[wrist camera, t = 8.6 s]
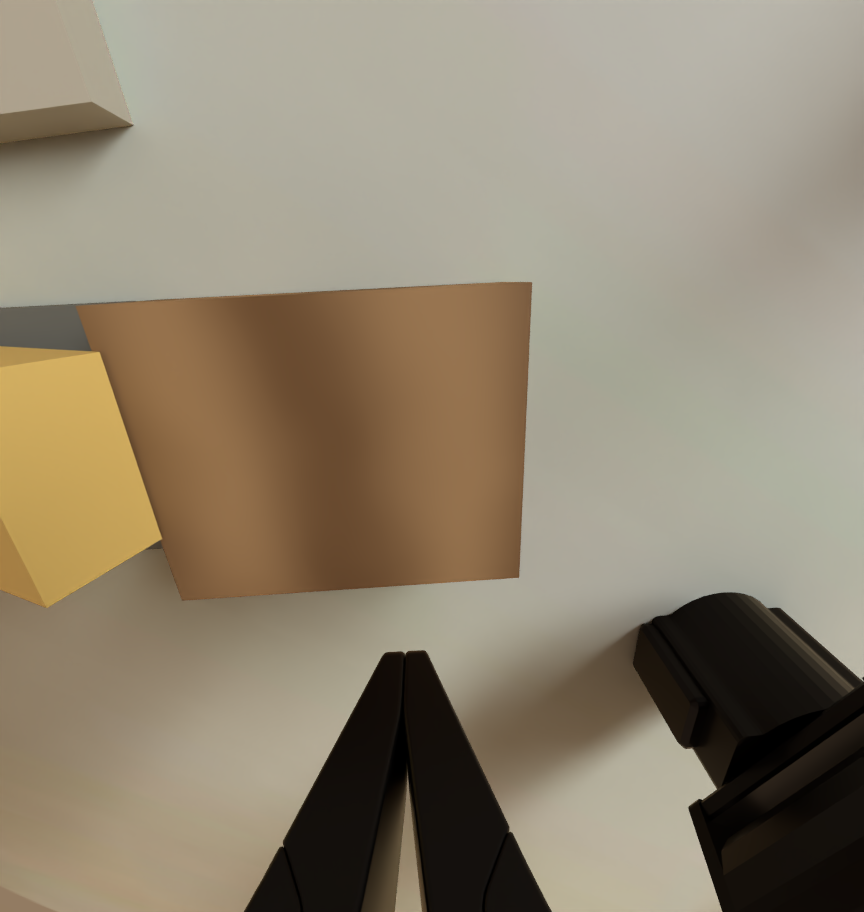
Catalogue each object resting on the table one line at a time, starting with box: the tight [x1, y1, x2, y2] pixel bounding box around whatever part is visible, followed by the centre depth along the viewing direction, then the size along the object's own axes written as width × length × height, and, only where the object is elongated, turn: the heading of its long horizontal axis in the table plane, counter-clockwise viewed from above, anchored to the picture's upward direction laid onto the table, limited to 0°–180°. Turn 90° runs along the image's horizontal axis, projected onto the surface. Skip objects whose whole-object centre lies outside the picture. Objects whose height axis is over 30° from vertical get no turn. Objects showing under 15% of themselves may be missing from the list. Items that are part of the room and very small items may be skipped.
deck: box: [76, 282, 532, 600], centre depth 13 cm, size 11×9×4 cm
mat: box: [0, 301, 163, 550], centre depth 15 cm, size 9×9×1 cm
